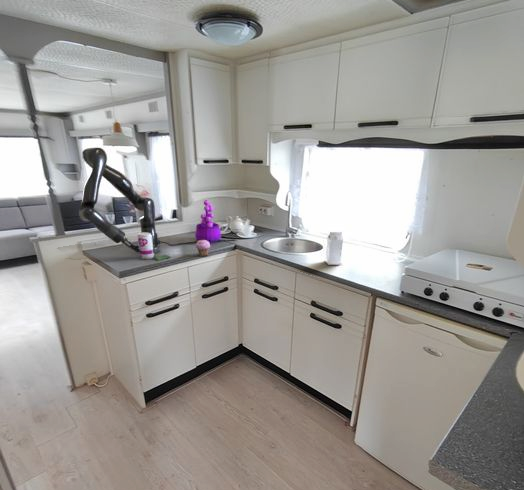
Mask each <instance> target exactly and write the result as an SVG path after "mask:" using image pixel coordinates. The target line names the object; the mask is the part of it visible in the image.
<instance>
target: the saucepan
mask: <svg viewBox="0 0 524 490" xmlns="http://www.w3.org/2000/svg"><path fill="white" fill-rule="evenodd" d="M158 245H159V244H158ZM158 245H153V250H154V255H155V254H158V253H159V252H160V248H159V246H160V245H159V246H158ZM135 247H137V248H138V249H139V245H135Z"/></svg>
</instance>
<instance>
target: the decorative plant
mask: <svg viewBox="0 0 524 490" xmlns="http://www.w3.org/2000/svg"><path fill="white" fill-rule="evenodd" d="M203 205H204V207H203V210H204V211H205V213H201V214H200V219H201V221H200V223H197V224H196V227H195V233H194V238H195V239H196V241H199V240H206V241H208V242H209V243H210V244H211V243H216V242H219V241H218V240H221V238H222V232H221V229H220V225H219V223H217V222H213V221H212V219H213V218H214V213H212V212H213V210H214V207H213V205H211V204H210V201H209V200H208V199H205V200H204V201H203Z"/></svg>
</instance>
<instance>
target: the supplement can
mask: <svg viewBox="0 0 524 490" xmlns="http://www.w3.org/2000/svg"><path fill="white" fill-rule="evenodd" d="M137 244H138V245H137V246H139V248H138V249H139V250H140V251H139V252H138V253H139V258H140V259H142V260H151V259H154V258H155V254H154V250H153V242H152V235H151V234H150V233H148V232H144V233H141V232H139V233H138V234H137Z"/></svg>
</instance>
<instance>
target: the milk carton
mask: <svg viewBox="0 0 524 490" xmlns="http://www.w3.org/2000/svg"><path fill="white" fill-rule="evenodd" d="M343 243H344V239H343V233H342V231H329V234H328V236H327V240H326V251H325V262H326V264H327V265H334V266H336V265H337V266H338V265H341V261H342V251H343V250H342V249H343Z"/></svg>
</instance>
